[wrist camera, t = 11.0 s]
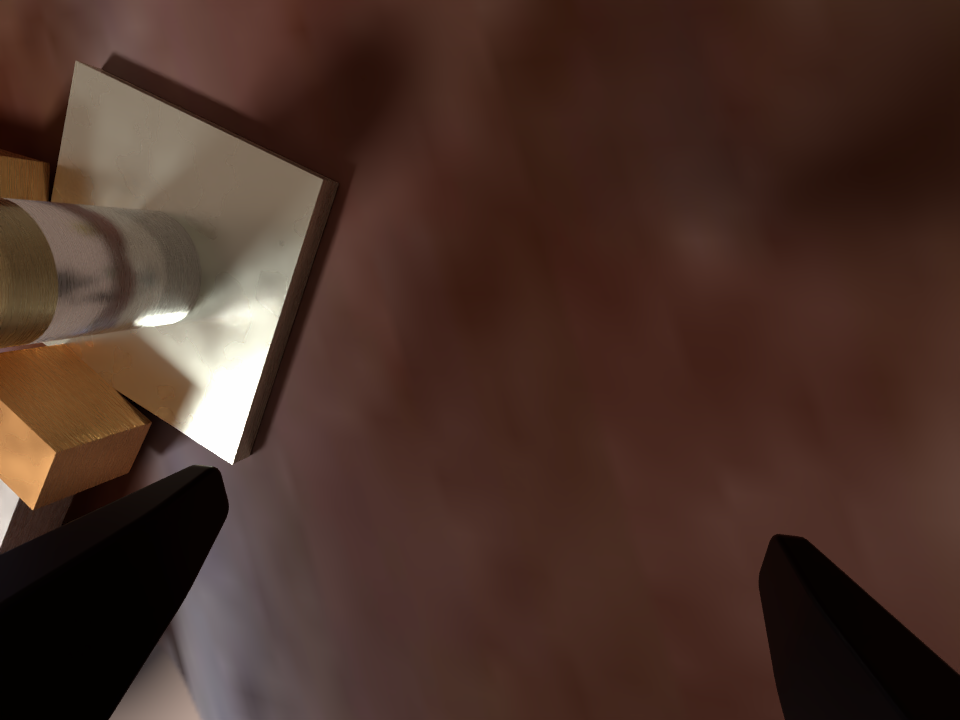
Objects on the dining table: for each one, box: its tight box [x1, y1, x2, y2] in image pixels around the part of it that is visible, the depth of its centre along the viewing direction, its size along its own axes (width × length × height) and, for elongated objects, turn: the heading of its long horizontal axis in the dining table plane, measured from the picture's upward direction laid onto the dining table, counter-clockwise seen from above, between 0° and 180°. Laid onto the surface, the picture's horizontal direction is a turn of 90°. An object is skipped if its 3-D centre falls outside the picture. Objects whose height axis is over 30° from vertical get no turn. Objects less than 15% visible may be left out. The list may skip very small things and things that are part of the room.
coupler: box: [0, 198, 201, 348], centre depth 17 cm, size 4×4×11 cm
